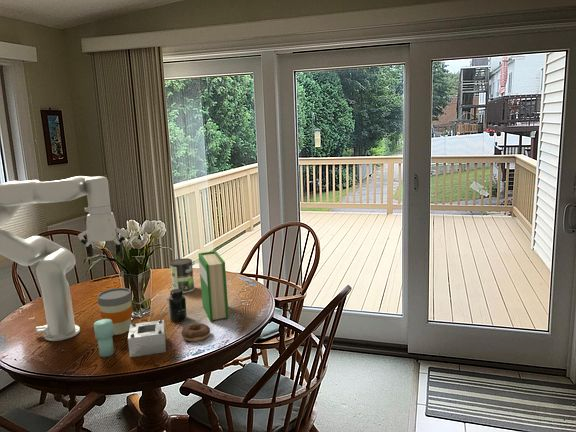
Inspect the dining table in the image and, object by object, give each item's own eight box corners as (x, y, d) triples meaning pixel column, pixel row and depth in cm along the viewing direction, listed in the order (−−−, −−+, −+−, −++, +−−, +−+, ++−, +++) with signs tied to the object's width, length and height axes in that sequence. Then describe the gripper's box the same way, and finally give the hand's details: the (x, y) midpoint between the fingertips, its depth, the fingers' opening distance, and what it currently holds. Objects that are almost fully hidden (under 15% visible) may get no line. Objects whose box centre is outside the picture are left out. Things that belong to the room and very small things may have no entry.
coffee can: (198, 286, 232) (195, 258, 229) (188, 294, 222) (185, 265, 219) (179, 285, 235) (176, 257, 232) (168, 292, 225) (165, 264, 222)
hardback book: (228, 319, 193) (224, 262, 188) (210, 322, 190) (206, 264, 186) (219, 303, 209) (215, 250, 204) (202, 306, 207) (198, 253, 202)
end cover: (96, 359, 165) (92, 327, 162) (98, 351, 170) (94, 320, 168) (115, 356, 166) (111, 324, 164) (116, 348, 172) (112, 317, 170)
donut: (177, 336, 180) (176, 326, 179) (202, 328, 186) (202, 318, 185) (188, 346, 172) (188, 336, 171) (215, 337, 177) (214, 327, 177)
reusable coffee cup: (132, 320, 196) (128, 285, 193) (138, 331, 185) (133, 295, 182) (99, 327, 190) (95, 291, 187) (103, 339, 179) (98, 302, 176)
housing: (129, 357, 165) (127, 336, 163) (132, 342, 176) (130, 322, 175) (165, 352, 168) (163, 331, 166) (165, 337, 179) (163, 318, 178)
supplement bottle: (183, 322, 191) (180, 294, 189) (167, 321, 193) (164, 293, 190) (189, 315, 198) (187, 288, 196) (174, 314, 199) (171, 287, 197)
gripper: (72, 213, 171) (77, 259, 175) (122, 210, 174) (127, 256, 177) (77, 209, 178) (83, 253, 182) (126, 207, 181) (130, 250, 185)
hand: (104, 255), depth 180 cm, fingers open, 9 cm apart
